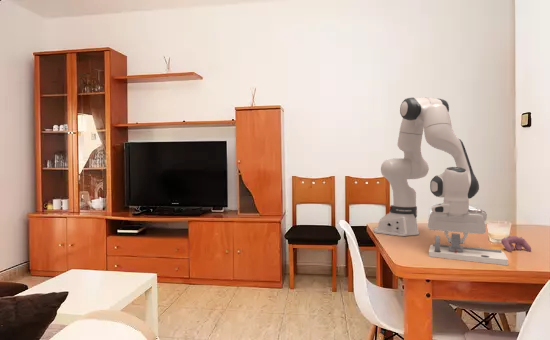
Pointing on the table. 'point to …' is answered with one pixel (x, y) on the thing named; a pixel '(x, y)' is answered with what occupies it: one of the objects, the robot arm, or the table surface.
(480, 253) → the gauge board
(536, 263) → the table surface
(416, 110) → the robot arm
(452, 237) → the leg
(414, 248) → the table surface
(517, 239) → the video game controller
